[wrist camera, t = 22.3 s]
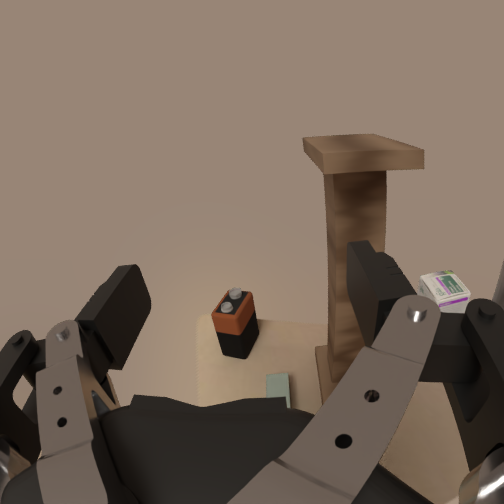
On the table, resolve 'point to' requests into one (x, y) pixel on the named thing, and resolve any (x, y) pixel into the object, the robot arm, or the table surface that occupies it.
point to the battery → (236, 323)
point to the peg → (278, 386)
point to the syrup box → (445, 291)
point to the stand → (352, 229)
